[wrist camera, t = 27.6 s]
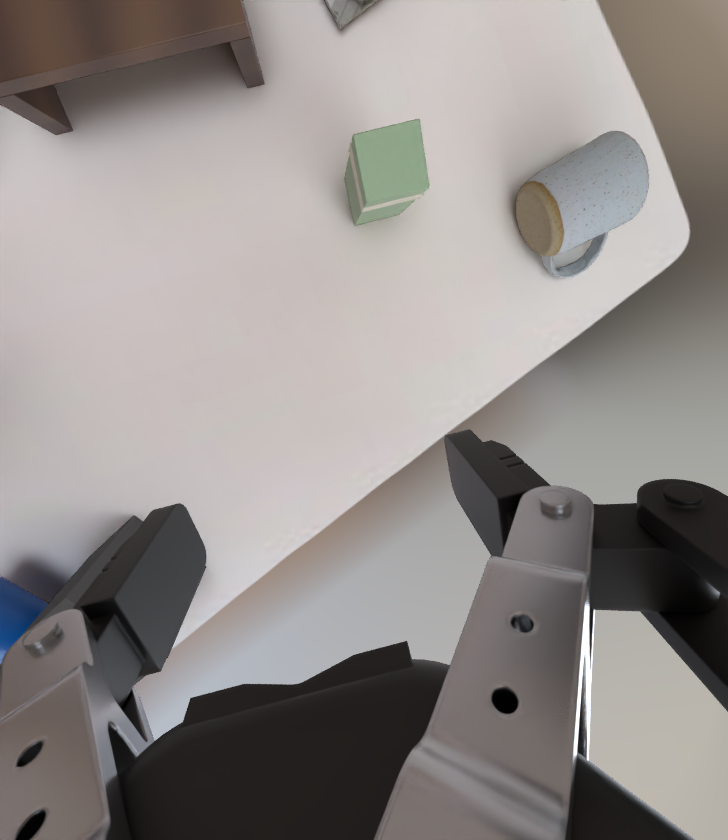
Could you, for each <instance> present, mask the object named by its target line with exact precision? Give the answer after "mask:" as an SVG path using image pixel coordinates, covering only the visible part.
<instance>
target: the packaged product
mask: <svg viewBox="0 0 728 840" xmlns="http://www.w3.org/2000/svg"><path fill="white" fill-rule="evenodd" d="M376 1H378V0H325V2H326V4H327V6H328V8H329V10H330V11H331V13H332V15H333V17H334V19H335V21H336V22H337V25H338V27H339V29H341V28H343V27H344V26H345V25H346V24H348V23H349V22H350V21H352V20H353V19H354V18H356V17H357V16H358V15H359V14H361V13H362V12H363V11H365V10H366V9H367V8H369V7H370V6H371V5H372V4H374V3H375V2H376Z"/></svg>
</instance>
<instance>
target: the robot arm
mask: <svg viewBox="0 0 728 840" xmlns="http://www.w3.org/2000/svg"><path fill="white" fill-rule="evenodd" d="M444 442H445V448H446V454H447V460H448V466H449V472H450V478H451V482H452V487H453V490H454V493H455V495H456V498H457V500H458V502H459V503H460V505H461V507H462V508H463V510H464V512H465V513H466V515H467V517H468V518H469V520H470V521H471V523H472V525H473V526H474V528H475V529H476V531H477V533H478V534H479V536H480V538H481V539H482V541H483V543H484V544H485V546H486V548H487V549H488V551H489V552H490V554H491V557H490V558H489V560H488V562H487V565H486V568H485V570H484V573H483V576H482V579H481V581H480V584H479V587H478V589H477V592H476V595H475V598H474V600H473V603H472V606H471V609H470V612H469V614H468V617H467V620H466V623H465V625H464V628H463V631H462V634H461V636H460V639H459V642H458V645H457V647H456V650H455V653H454V656H453V659H452V661H451V664H450V665H447V664H443V663H440V662H436V661H429V660H416V659H414V660H413V659H412V658H411V654H410V650H409V647H408V643H407V641H405V642H401V643H397V644H393V645H390V646H386V647H383V648H378V649H375V650H371V651H367V652H363V653H359V654H356V655H353V656H351V657H349V658H348V659H346V660H344V661H342V662H340V663H338V664H336V665H334V666H332V667H331V668H329V669H327V670H325V671H323V672H321V673H319V674H317V675H316V676H314V677H312V678H310V679H308V680H306V681H304V682H302V683H299V684H294V685H281V684H280V685H279V684H278V685H277V684H242V685H239V686H235V687H231V688H227V689H224V690H220V691H216V692H212V693H208V694H204V695H201V696H197V697H193V698H191V699H190V702H189V705H188V708H187V711H186V714H185V717H184V721H183V722H182V723H181V724H179V725H177V726H176V727H174V728H172V729H171V730H169V731H168V732H166V733H165V734H163V735H162V736H161V737H160V738H158V739H157V740H156V741H154V738H153V735H152V732H151V729H150V727H149V723H148V720H147V717H146V714H145V711H144V709H143V705H142V702H141V699H140V697H139V694H138V693H137V691H136V690H135V688H134V687H133V685H134V683H135V681H136V679H137V677H141V676H145V675H149V674H153V673H156V672H160V671H161V670H162V667H163V665H164V663H165V660H166V658H167V655H168V653H169V651H170V648H171V646H172V643H173V641H174V639H175V636H176V634H177V632H178V629H179V627H180V624H181V622H182V620H183V617H184V615H185V612H186V610H187V608H188V605H189V603H190V600H191V598H192V596H193V593H194V591H195V589H196V586H197V584H198V581H199V579H200V577H201V574H202V572H203V569H204V567H205V564H206V550H205V546H204V544H203V541H202V539H201V537H200V535H199V533H198V531H197V529H196V527H195V525H194V523H193V521H192V519H191V517H190V515H189V513H188V511H187V509H186V507H185V506H184V505H182V504H175V505H171V506H167V507H163V508H159V509H155V510H153V511H152V512H151V513H150V514H149V515H148V517H147V518H146V519H145V521H144V522H143V523H142V525H141V526H140V527H139V529H138V530H137V531H136V533H135V534H133V535H132V536H131V537H130V538H129V539H127V540H126V541H125V542H124V543H123V544H122V545H121V546H120V547H119V548H118V550H117V551H116V552H115V554H114V555H113V556H112V558H111V561H108V563H107V564H106V565H105V567H104V568H103V569H102V573H99V574H98V576H97V577H96V578H95V580H94V581H93V582H92V584H91V585H90V586H89V587H88V589H87V590H86V591H85V593H84V594H83V595H82V596H81V598H80V599H79V600H78V602H77V603H76V604H75V606H74V607H73V608H72V609H70V610H65V611H62V612H59V613H56V614H54V615H52V616H50V617H48V618H46V619H44V620H43V621H41V622H39V623H38V624H36V625H35V626H33V627H32V628H31V629H29V630H28V631H27V632H26V633H24V634H23V635H22V636H21V637H20V638H19V639H18V640H17V641H16V642H15V643H14V644H13V645H12V646H11V647H10V648H9V649H8V651H7V652H6V654H5V655H4V657H3V659H2V663H1V664H0V840H695V839H693V838H692V837H691V836H689V835H688V834H687V833H685V832H684V831H683V830H681V829H680V828H678V827H677V826H676V825H675V824H673V823H672V822H670V821H669V820H668V819H666V818H665V817H664V816H662V815H661V814H660V813H658V812H657V811H656V810H654V809H653V808H651V807H650V806H649V805H648V804H646V803H645V802H644V801H642V800H641V799H640V798H638V797H637V796H635V795H634V794H633V793H632V792H630V791H629V790H627V789H626V788H625V787H623V786H622V785H621V784H619V783H618V782H617V781H615V780H614V779H613V778H611V777H610V776H609V775H607V774H606V773H605V772H603V771H602V770H601V769H599V768H598V767H597V766H595V765H594V764H593V763H591V762H590V761H589V737H590V697H591V673H592V655H593V635H594V615H595V610H618V611H640V612H641V613H642V614H643V615H644V616H645V617H646V618H647V620H648V621H649V622H650V623H651V624H652V625H653V626H654V627H655V629H656V630H657V631H658V632H659V633H660V634H661V636H662V637H663V638H664V639H665V640H666V641H667V643H668V644H669V645H670V646H671V647H672V648H673V649H674V650H675V652H676V653H677V654H678V655H679V656H680V657H681V659H682V660H683V661H684V662H685V663H686V664H687V665H688V666H689V668H690V669H691V670H692V671H693V672H694V673H695V675H696V676H697V677H698V678H699V679H700V680H701V681H702V683H703V684H704V685H705V686H706V687H707V688H708V690H709V691H710V692H711V693H712V694H713V695H714V696H715V697H716V699H717V700H718V701H719V702H720V703H721V704H722V706H723V707H724V708H725V709H726V710H727V711H728V496H726V495H725V494H723V493H721V492H719V491H718V490H716V489H714V488H711V487H709V486H706V485H703V484H700V483H696V482H692V481H686V480H678V479H662V480H655V481H651V482H648V483H646V484H644V485H643V486H641V487H640V488H639V490H638V492H637V503H633V504H609V505H608V504H606V505H598V504H593V502H592V501H591V500H590V499H589V497H587V496H586V495H584V494H583V493H582V492H579V491H577V490H575V489H572V488H568V487H562V486H551V485H550V484H548V483H547V482H546V481H545V480H544V479H543V478H542V477H541V476H540V475H538V474H537V473H536V472H535V471H534V470H533V469H532V468H531V467H530V466H528V465H527V464H526V463H524V461H523V460H522V459H521V458H519V457H518V456H516V454H515V453H514V452H513V451H511V450H510V449H509V448H508V447H507V446H505V445H503V444H500V443H497V442H495V441H492V440H490V441H487V442H482V441H481V440H480V439H479V438H478V437H477V436H476V435H475V434H474V433H473V432H472V431H471V430H469V429H468V430H464V431H461V432H457V433H453V434H449V435H445V437H444Z"/></svg>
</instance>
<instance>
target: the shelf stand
mask: <svg viewBox="0 0 728 840" xmlns="http://www.w3.org/2000/svg"><path fill="white" fill-rule="evenodd" d="M226 42H230V45H231V47H232V50H233V52H234V55H235V57H236V60H237V63H238V65H239V68H240V70H241V73H242V75H243V78H244V80H245V83H246V85H247V88H250V87H254V86H258V85H262V84H265V83H264V79H263V75H262V71H261V67H260V64H259V60H258V56H257V52H256V48H255V45H254V41H253V37H252V33H251V29H250V26H249V22H248V18H247V14H246V10H245V7H244V3H243V0H0V105H2V106H4V107H6V108H8V109H10V110H11V111H13V112H15V113H17V114H19V115H20V116H22V117H24V118H26V119H28V120H30V121H31V122H33V123H35V124H37V125H39V126H41V127H42V128H44V129H46V130H48V131H50V132H51V133H53V134H55V135H58V134H62V133H66V132H70V131H73V129H72V127H71V125H70V122H69V120H68V118H67V115H66V113H65V111H64V108H63V106H62V104H61V101H60V99H59V97H58V95H57V92H56V90H55V88H54V85H53V84H57V83H61V82H65V81H69V80H73V79H77V78H81V77H85V76H90V75H94V74H98V73H102V72H106V71H110V70H114V69H118V68H123V67H127V66H131V65H135V64H139V63H143V62H147V61H151V60H156V59H160V58H164V57H168V56H172V55H176V54H180V53H184V52H189V51H193V50H197V49H201V48H205V47H209V46H213V45H217V44H222V43H226Z"/></svg>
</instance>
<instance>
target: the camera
mask: <svg viewBox="0 0 728 840" xmlns="http://www.w3.org/2000/svg"><path fill="white" fill-rule="evenodd" d="M142 523H143V521H141V520H140V519H138V518H137V517H136V516H133V517H132V518H131V519H130V520H128V521H127V522H126V523H125V524H124V525H123V526H122V527H121V528H120V529H119V530H118V531H117V532H116V533H114V534H113V535H112V536H111V537H110V538H109V539H108V540H107V541H106V542H105V543H104V544H103V545H102V546H100V547H99V548H98V549H97V550H96V551H95V552H94V553H93V554H92V555H91V556H90V557H89V558H88V559H87V560H86V561H85V562H84V564H83V565H82V566H81V567H80V568H79V569H78V571H77V572H76V573H75V574H74V575H73V576H72V577H71V579H70V580H69V581H68V582H67V583H66V584H65V586H64V587H63V588H62V589H61V590H60V591H59V592H58V594H57V595H56V596H55V597H54V598H53V599H52V601H51V602H50V603H47V602H45V601H44V600H42V599H40V598H38V597H37V596H35V595H33V594H31V593H30V592H28V591H26V590H24V589H23V588H21V587H19V586H17V585H16V584H14V583H12V582H10V581H9V580H7V579H5V578H3V577H2V576H1V577H0V664H1V663H2V659H3V657H4V655H5V654H6V652H7V651H8V649H9V648H10V647H11V646H12V645H13V644H14V643H15V642H16V641H17V640H18V639H19V638H20V637H21V636H22V635H23V634H24V633H26V632H27V631H28V630H29V629H31V628H32V627H33V626H35V625H36V624H38V623H39V622H41V621H43V620H44V619H46V618H48V617H50V616H52V615H54V614H56V613H59V612H62V611H65V610H70V609H72V608H73V607H74V606H75V604H76V603H77V602H78V600H79V599H80V598H81V596H82V595H83V594H84V593H85V591H86V590H87V589H88V587H89V586H90V585H91V584H92V582H93V581H94V580H95V578H96V577H97V576H98V574H99V573H102V569H103V568H104V567H105V565H106V564H107V563H108V561H111V558H112V556H113V555H114V554H115V552H116V551H117V550H118V548H119V547H120V546H121V545H122V544H123V543H124V542H125V541H126V540H127V539H129V538H130V537H131V536H132V535H133V534H135V533H136V531H137V530H138V529H139V527H140V526H141V525H142ZM205 568H206V566H205V567H204V569H203V572H202V574H201V577H200V579H199V581H198V584H197V586H196V589H195V591H194V593H193V596H192V598H191V600H190V603H189V605H188V608H187V610H186V612H185V615H184V617H183V620H182V622H181V624H180V627H179V629H178V632H179V630H180V628H181V625H182V623H183V621H184V618H185V616H186V613H187V611H188V609H189V606H190V604H191V602H192V599H193V597H194V594H195V592H196V590H197V587H198V585H199V583H200V580H201V578H202V576H203V573H204V571H205ZM178 632H177V634H176V636H175V639H176V637H177V635H178ZM175 639H174V641H173V643H172V646H171V648H170V651H171V649H172V647H173V644H174V642H175ZM170 651H169V653H168V655H167V658H168V656H169V654H170ZM167 658H166V659H167ZM145 676H146V675H145ZM145 676H141V677H137V679H136V681H135V683H134V685H135V684H136V683H137V682H138V681H140V680H141V679H142V678H143V677H145ZM134 685H133V686H134Z"/></svg>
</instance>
